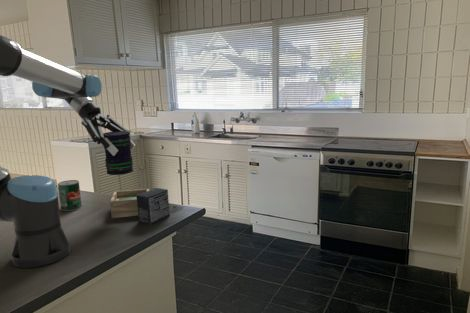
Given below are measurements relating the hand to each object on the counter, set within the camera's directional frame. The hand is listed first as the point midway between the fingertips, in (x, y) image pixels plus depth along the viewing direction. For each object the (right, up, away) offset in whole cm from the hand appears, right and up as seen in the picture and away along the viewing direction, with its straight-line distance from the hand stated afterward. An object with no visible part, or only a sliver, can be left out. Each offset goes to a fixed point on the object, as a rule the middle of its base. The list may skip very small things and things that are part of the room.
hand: (124, 150), depth 130 cm
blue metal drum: (-3, -8, +3) cm, 9 cm away
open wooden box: (0, -24, +9) cm, 26 cm away
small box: (+11, -26, 0) cm, 28 cm away
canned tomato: (-27, -24, +14) cm, 38 cm away
